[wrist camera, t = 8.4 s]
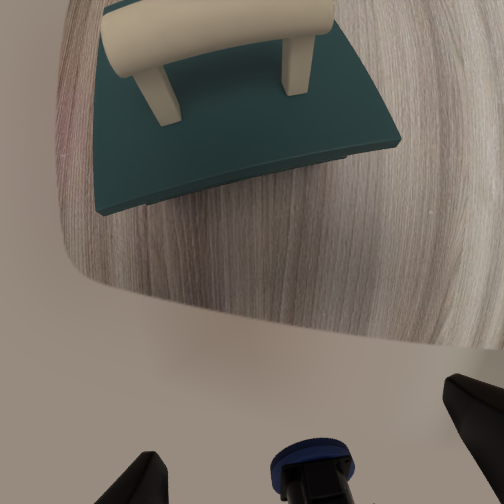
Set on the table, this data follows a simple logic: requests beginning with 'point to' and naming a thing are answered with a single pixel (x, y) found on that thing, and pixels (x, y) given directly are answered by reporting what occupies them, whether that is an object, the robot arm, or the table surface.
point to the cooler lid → (224, 95)
